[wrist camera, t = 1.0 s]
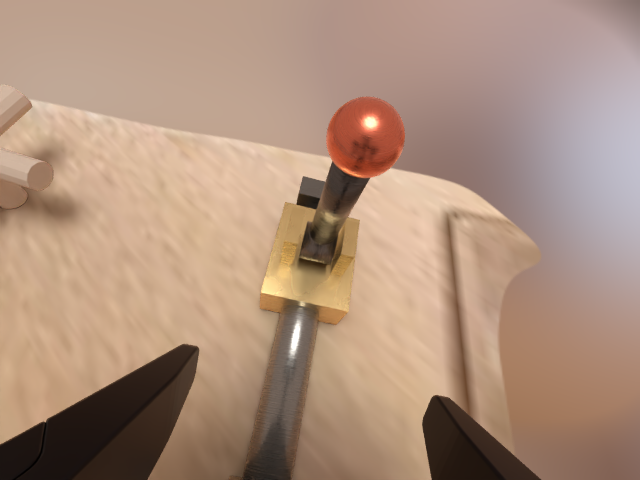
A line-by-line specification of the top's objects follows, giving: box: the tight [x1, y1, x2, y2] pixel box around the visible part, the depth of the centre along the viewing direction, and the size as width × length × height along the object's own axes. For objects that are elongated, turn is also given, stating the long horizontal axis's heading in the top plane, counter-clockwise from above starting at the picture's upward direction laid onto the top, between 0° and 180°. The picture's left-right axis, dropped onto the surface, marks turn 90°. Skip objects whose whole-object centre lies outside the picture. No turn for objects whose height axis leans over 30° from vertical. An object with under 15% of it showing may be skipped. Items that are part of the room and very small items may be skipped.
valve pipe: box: [229, 176, 360, 480], centre depth 20 cm, size 21×6×6 cm, turn 170°
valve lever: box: [299, 97, 405, 265], centre depth 16 cm, size 3×3×13 cm
